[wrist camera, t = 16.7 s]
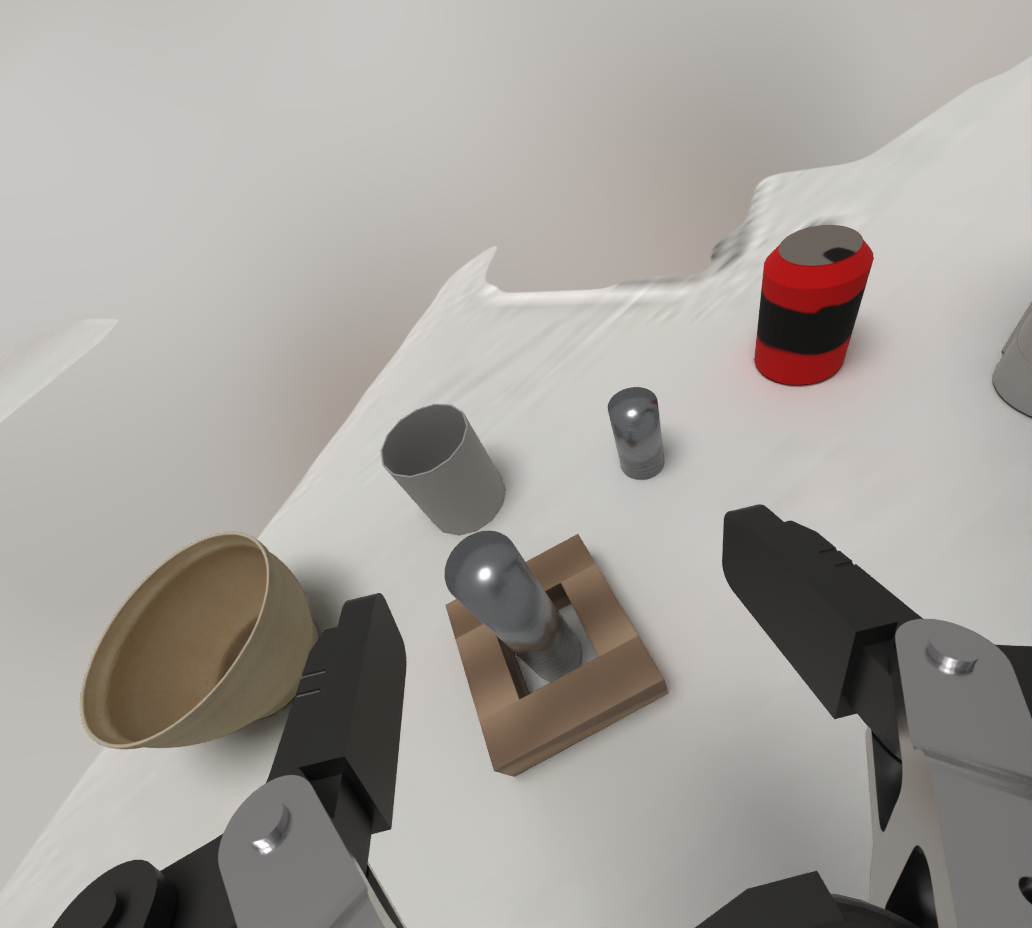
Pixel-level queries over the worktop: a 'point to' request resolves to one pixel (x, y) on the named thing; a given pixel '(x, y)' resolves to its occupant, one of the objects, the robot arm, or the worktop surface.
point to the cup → (444, 468)
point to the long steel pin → (512, 603)
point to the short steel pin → (637, 432)
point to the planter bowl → (199, 648)
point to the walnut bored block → (573, 697)
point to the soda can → (810, 303)
